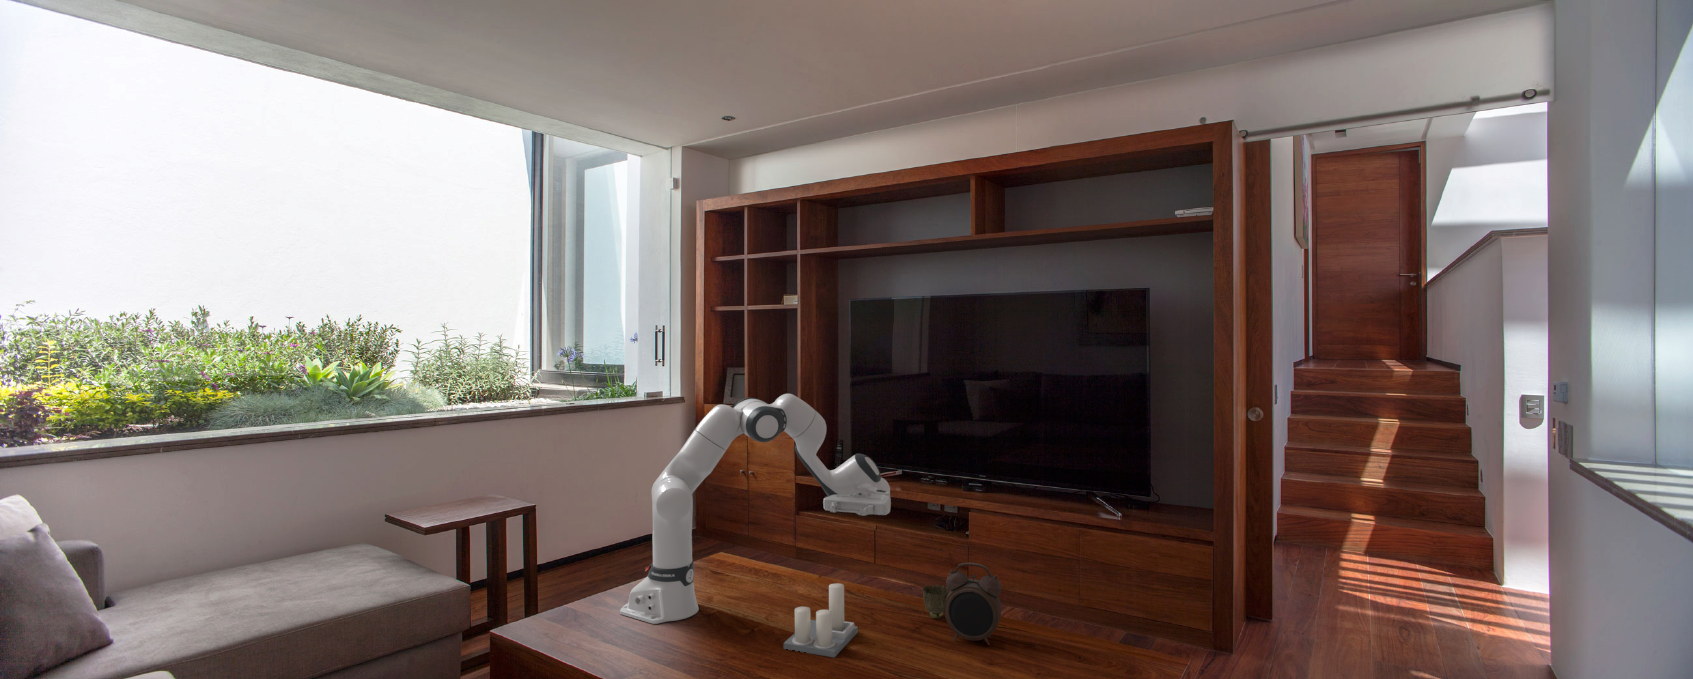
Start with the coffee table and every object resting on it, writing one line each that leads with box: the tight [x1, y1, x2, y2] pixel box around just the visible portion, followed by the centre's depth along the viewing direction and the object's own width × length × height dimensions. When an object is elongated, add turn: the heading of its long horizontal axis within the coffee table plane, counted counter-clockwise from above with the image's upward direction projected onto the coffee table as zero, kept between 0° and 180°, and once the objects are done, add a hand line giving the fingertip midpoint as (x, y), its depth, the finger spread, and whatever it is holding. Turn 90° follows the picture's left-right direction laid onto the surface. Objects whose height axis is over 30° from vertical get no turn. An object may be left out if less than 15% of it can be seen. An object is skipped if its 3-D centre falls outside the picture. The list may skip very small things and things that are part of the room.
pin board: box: [783, 606, 859, 658], centre depth 189 cm, size 14×16×10 cm
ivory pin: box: [828, 582, 845, 632], centre depth 191 cm, size 4×4×12 cm
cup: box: [922, 584, 950, 620], centre depth 203 cm, size 8×7×8 cm
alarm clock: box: [943, 562, 1003, 645], centre depth 187 cm, size 15×7×20 cm, turn 71°
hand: (847, 510), depth 212 cm, fingers open, 8 cm apart
